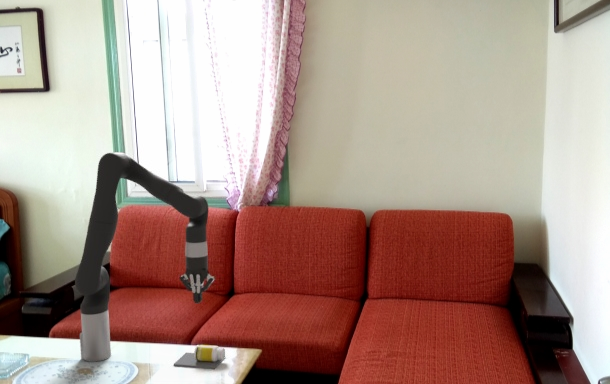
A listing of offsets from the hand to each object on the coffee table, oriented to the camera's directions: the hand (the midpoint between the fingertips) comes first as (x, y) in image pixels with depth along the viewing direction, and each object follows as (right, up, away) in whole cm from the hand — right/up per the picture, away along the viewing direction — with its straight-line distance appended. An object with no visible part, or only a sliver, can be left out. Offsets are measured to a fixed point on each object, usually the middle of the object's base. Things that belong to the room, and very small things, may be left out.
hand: (197, 302), depth 188 cm
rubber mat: (0, -21, +2) cm, 21 cm away
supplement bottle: (-1, -18, +1) cm, 18 cm away
